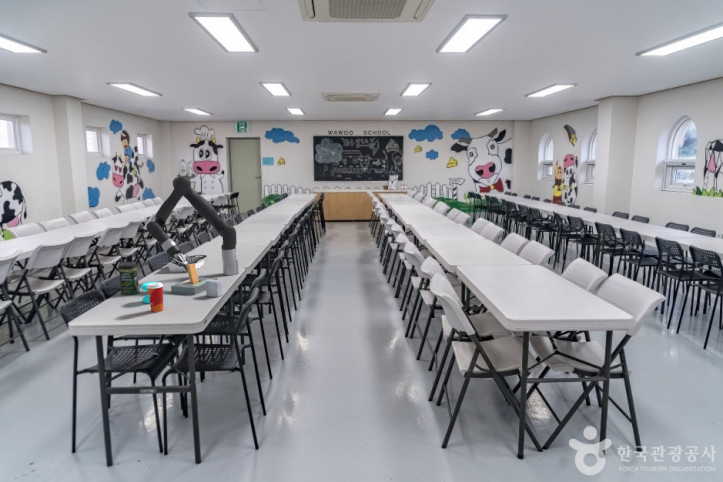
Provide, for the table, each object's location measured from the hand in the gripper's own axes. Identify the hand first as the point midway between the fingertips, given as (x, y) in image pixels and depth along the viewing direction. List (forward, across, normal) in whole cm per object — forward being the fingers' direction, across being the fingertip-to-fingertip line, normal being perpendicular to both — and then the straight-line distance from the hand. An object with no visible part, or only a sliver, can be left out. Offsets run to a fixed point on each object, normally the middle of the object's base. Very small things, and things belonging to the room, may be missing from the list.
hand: (189, 270), depth 271 cm
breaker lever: (+8, 0, +4) cm, 9 cm away
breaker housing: (+10, 0, +6) cm, 12 cm away
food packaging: (-18, +44, +36) cm, 59 cm away
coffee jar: (-11, -18, +28) cm, 35 cm away
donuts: (+6, -27, +11) cm, 29 cm away
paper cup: (+16, -39, 0) cm, 42 cm away
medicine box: (+24, -9, -9) cm, 28 cm away
